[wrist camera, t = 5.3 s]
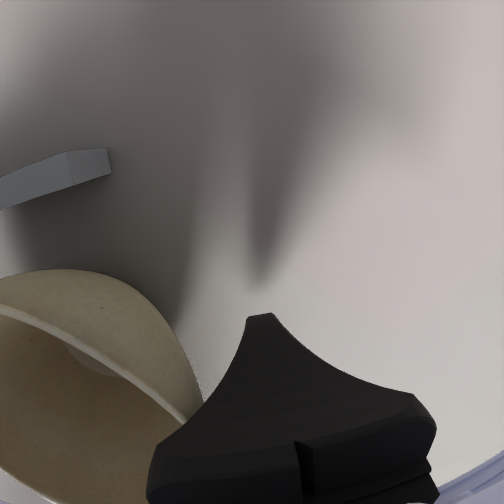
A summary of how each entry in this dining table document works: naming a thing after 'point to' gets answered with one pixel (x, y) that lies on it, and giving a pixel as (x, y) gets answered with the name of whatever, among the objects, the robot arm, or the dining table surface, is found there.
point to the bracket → (53, 175)
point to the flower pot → (86, 386)
